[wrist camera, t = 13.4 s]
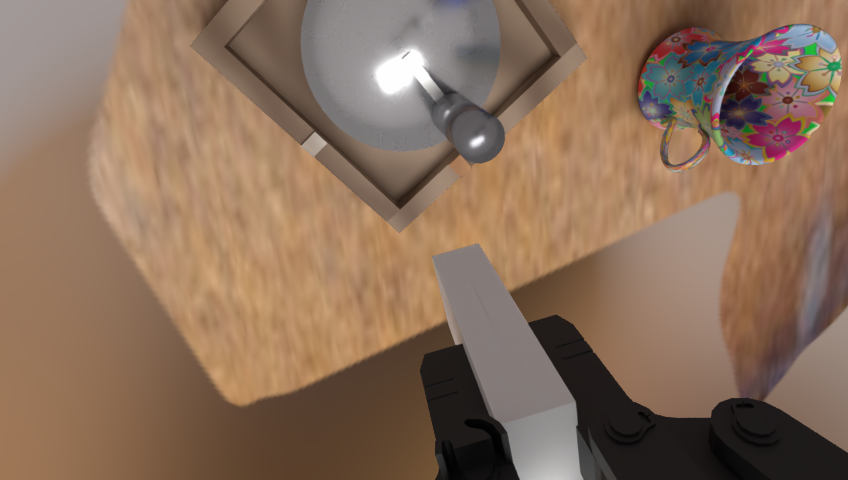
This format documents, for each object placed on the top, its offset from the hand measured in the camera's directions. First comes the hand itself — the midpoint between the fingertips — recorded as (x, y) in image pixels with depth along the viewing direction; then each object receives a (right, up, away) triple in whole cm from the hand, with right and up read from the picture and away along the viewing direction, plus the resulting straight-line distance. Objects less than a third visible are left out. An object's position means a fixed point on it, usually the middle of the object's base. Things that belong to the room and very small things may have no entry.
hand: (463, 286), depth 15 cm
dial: (-3, +15, +19) cm, 25 cm away
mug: (+20, +15, +27) cm, 37 cm away
